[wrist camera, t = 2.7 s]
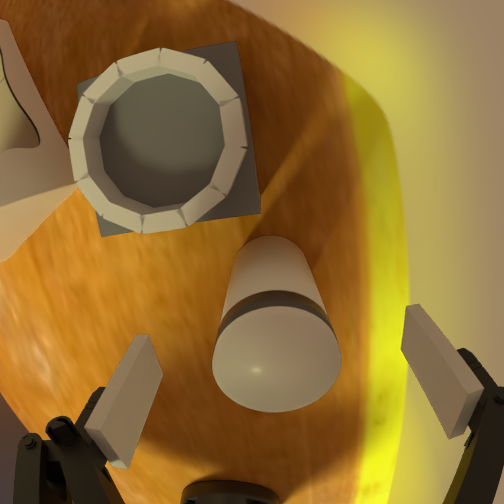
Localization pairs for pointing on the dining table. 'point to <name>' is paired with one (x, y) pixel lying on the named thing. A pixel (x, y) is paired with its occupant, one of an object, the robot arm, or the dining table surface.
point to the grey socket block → (166, 141)
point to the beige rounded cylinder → (274, 331)
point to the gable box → (27, 152)
